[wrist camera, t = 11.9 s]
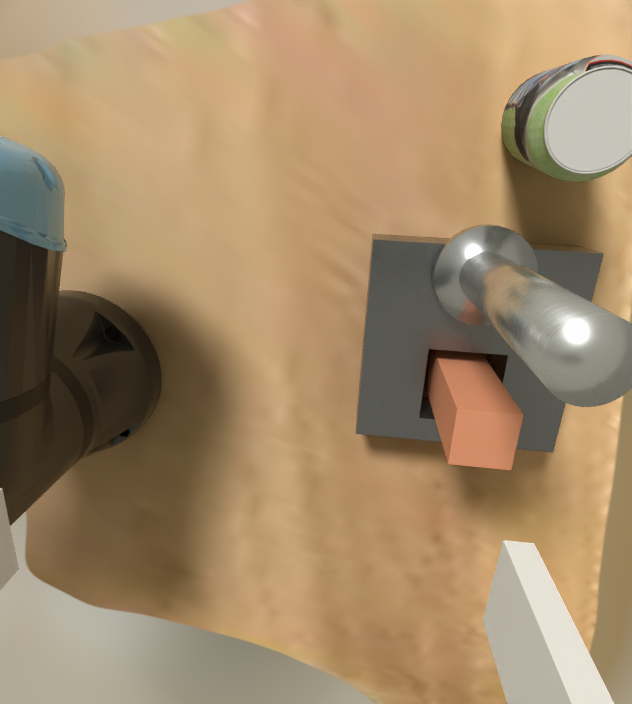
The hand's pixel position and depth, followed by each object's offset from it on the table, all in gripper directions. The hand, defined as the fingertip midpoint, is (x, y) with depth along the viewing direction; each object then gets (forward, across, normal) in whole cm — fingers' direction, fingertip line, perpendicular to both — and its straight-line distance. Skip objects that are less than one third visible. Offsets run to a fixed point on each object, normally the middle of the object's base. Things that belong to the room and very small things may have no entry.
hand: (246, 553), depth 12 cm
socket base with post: (+29, +12, -2) cm, 31 cm away
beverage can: (+29, +15, +14) cm, 35 cm away
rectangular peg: (+29, +12, -6) cm, 32 cm away
